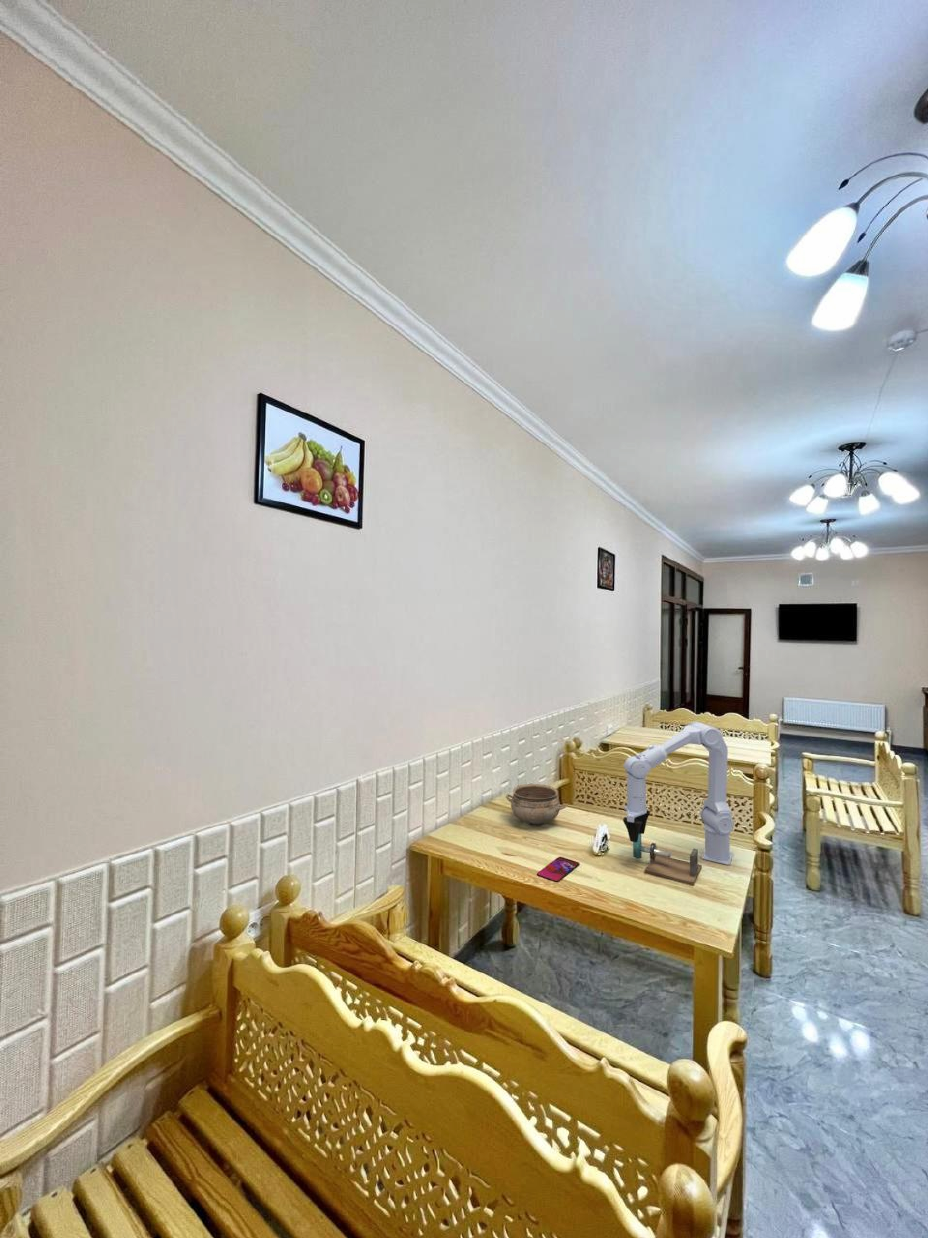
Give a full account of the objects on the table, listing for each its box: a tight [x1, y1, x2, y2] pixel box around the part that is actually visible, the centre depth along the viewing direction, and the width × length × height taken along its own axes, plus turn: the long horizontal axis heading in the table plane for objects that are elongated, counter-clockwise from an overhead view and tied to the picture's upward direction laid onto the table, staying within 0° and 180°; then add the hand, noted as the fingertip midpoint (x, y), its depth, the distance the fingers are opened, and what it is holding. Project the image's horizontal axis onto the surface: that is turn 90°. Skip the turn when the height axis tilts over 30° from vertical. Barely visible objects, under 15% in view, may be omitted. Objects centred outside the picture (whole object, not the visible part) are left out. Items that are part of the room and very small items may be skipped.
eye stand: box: [644, 847, 702, 887], centre depth 158 cm, size 13×14×7 cm
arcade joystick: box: [632, 833, 671, 861], centre depth 161 cm, size 5×11×8 cm, turn 55°
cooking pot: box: [505, 783, 568, 827], centre depth 197 cm, size 25×19×12 cm
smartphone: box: [536, 856, 580, 883], centre depth 159 cm, size 8×1×15 cm
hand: (637, 837), depth 164 cm, fingers open, 7 cm apart
